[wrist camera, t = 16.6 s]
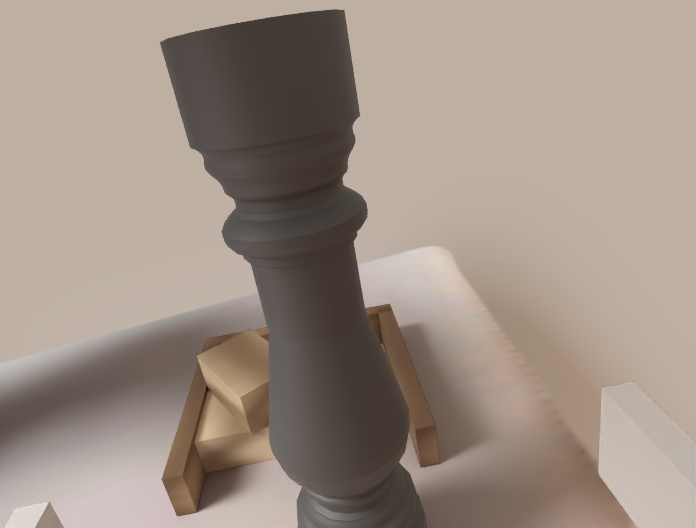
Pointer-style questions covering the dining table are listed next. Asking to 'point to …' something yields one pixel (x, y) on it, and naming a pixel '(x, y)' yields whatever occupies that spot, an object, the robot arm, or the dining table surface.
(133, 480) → the dining table surface
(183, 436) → the walnut caddy
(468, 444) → the dining table surface
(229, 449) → the offcut lower
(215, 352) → the offcut upper
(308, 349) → the candle holder
